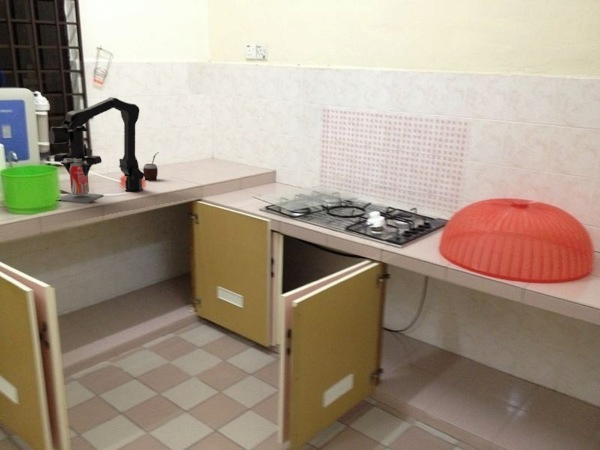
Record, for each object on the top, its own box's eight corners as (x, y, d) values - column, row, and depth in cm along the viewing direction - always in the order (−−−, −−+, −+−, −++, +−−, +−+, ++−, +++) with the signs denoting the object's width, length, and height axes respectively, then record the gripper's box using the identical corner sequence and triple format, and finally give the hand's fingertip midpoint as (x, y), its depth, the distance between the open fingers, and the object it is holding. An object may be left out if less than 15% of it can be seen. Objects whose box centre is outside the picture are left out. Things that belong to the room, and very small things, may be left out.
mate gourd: (143, 178, 280) (142, 149, 276) (159, 178, 282) (159, 149, 278) (143, 181, 273) (142, 151, 269) (159, 181, 275) (158, 152, 271)
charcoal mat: (103, 195, 242) (103, 194, 242) (86, 203, 229) (86, 201, 229) (74, 193, 244) (73, 191, 244) (55, 200, 231) (55, 199, 230)
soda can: (92, 192, 239) (90, 162, 235) (84, 196, 232) (82, 165, 228) (76, 191, 240) (74, 161, 236) (68, 195, 233) (65, 164, 229)
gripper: (106, 141, 236) (108, 176, 240) (66, 138, 238) (69, 173, 243) (93, 144, 225) (96, 181, 230) (51, 141, 228) (54, 178, 232)
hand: (79, 178), depth 234 cm, fingers closed on soda can, 5 cm apart
